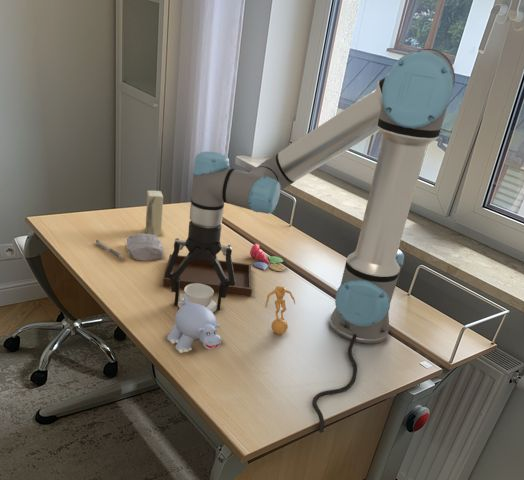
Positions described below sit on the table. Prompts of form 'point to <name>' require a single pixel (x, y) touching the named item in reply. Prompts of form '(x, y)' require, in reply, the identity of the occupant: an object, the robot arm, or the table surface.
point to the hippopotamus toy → (194, 327)
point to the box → (154, 212)
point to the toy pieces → (265, 259)
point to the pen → (109, 249)
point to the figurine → (279, 324)
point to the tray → (213, 276)
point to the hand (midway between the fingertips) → (197, 305)
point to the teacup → (199, 296)
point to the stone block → (144, 247)
